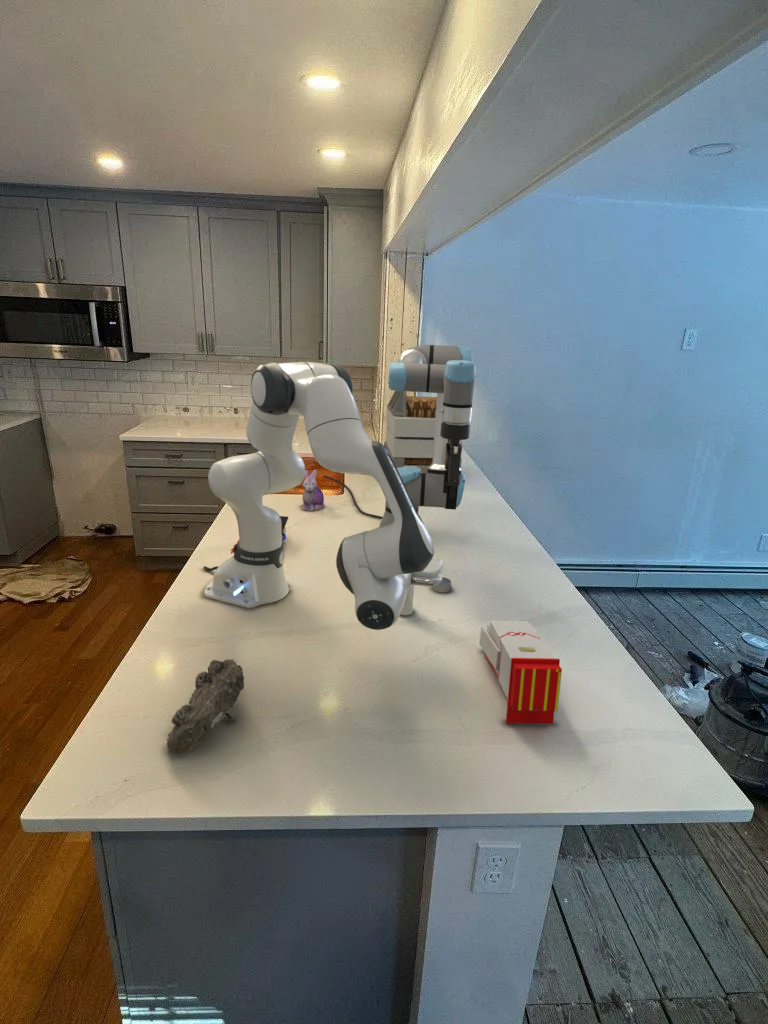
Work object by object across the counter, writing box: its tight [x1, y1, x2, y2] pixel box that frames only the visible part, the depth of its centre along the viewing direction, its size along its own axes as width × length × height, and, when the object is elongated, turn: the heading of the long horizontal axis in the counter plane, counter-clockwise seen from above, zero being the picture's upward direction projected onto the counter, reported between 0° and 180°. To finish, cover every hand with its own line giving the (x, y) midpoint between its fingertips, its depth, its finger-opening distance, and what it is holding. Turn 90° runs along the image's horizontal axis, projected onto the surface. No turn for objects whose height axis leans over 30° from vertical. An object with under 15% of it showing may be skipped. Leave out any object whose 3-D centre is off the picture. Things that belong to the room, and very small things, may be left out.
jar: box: [400, 584, 415, 616], centre depth 146 cm, size 4×4×16 cm
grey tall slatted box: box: [383, 391, 464, 470], centre depth 268 cm, size 34×33×41 cm
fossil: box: [166, 658, 245, 754], centre depth 106 cm, size 22×10×15 cm
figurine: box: [302, 469, 325, 511], centre depth 219 cm, size 9×10×15 cm
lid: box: [432, 576, 452, 594], centre depth 162 cm, size 5×5×2 cm
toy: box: [478, 620, 563, 725], centre depth 121 cm, size 12×13×30 cm
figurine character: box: [279, 515, 289, 543], centre depth 186 cm, size 7×8×15 cm
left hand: (401, 552), depth 131 cm, fingers open, 8 cm apart
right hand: (449, 500), depth 153 cm, fingers open, 13 cm apart
